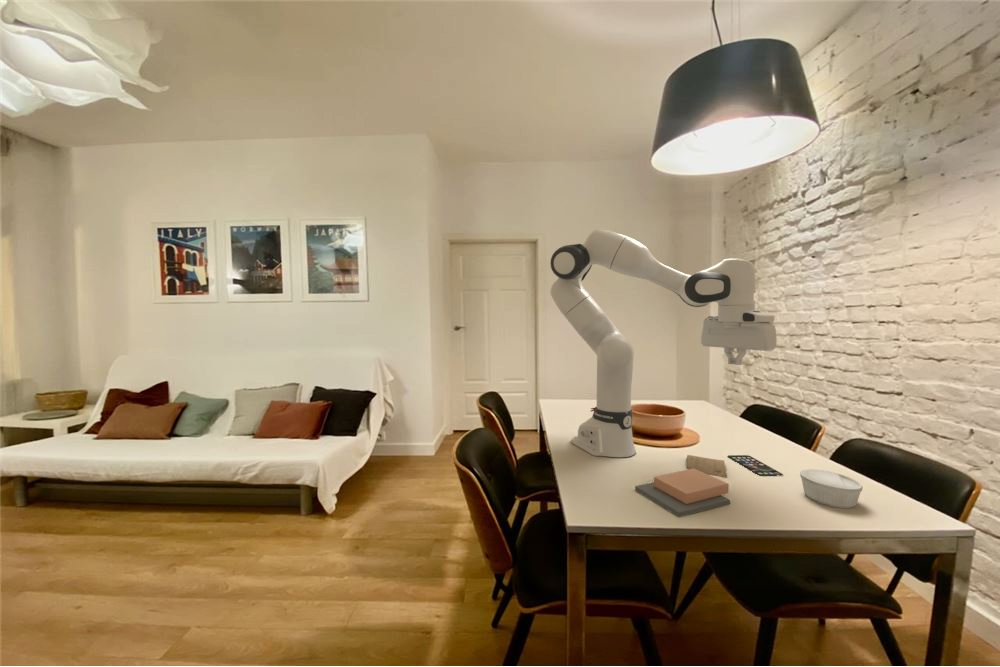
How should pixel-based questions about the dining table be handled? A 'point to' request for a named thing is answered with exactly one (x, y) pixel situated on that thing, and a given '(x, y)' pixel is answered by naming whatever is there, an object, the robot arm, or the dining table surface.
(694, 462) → the clay tablet
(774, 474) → the smartphone
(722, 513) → the dining table surface
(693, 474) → the tile
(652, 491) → the mat
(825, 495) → the ramekin
